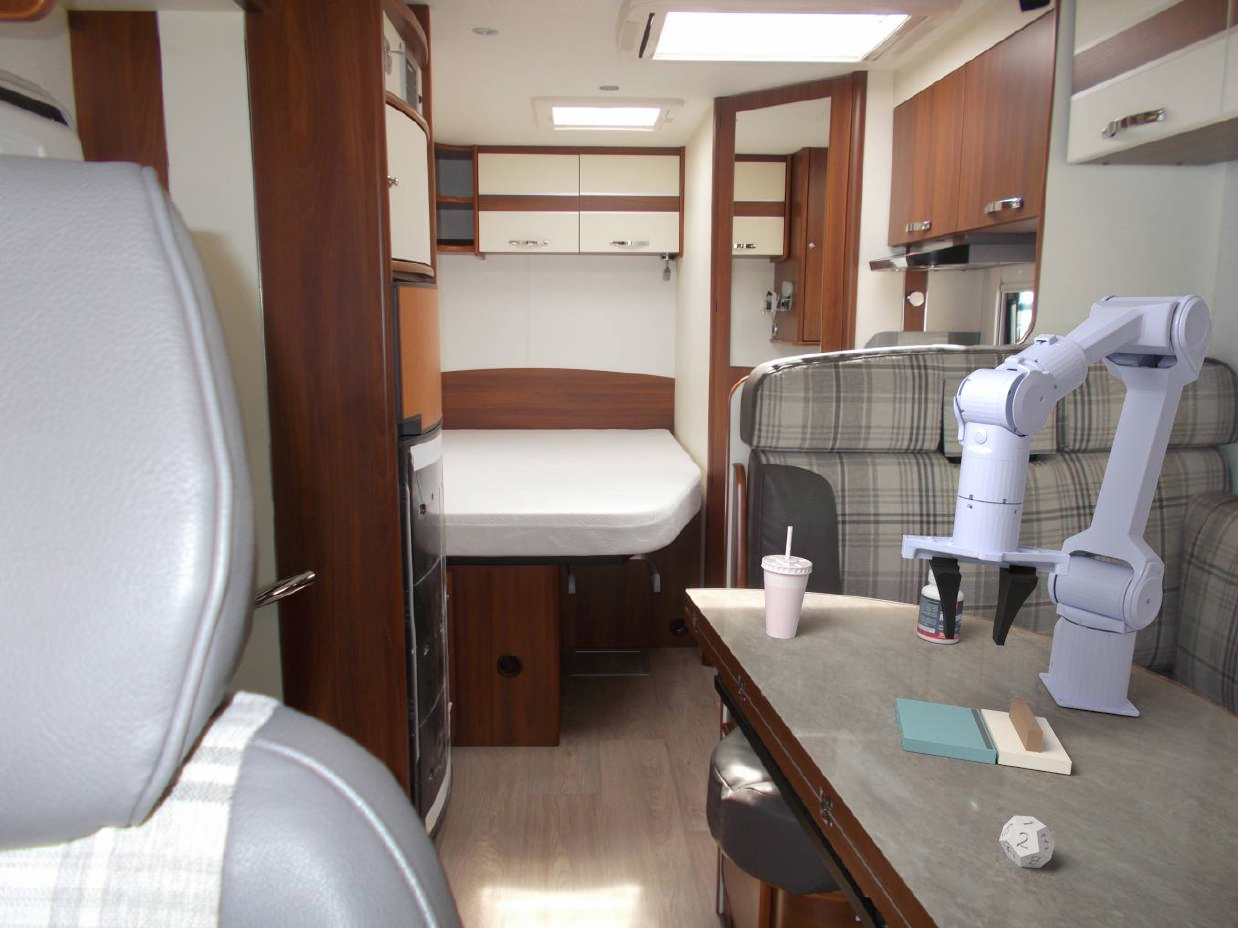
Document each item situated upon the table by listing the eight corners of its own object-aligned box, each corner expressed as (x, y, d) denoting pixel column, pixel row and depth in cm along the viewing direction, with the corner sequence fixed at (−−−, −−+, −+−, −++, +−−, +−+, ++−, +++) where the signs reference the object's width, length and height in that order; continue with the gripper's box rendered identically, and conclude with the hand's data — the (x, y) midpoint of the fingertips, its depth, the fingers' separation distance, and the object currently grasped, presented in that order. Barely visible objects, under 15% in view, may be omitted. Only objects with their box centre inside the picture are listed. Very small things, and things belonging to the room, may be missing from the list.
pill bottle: (938, 646, 113) (946, 578, 112) (907, 633, 118) (915, 568, 117) (967, 642, 116) (975, 576, 115) (936, 629, 120) (943, 566, 119)
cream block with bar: (980, 719, 90) (983, 689, 90) (1043, 729, 89) (1047, 698, 89) (998, 763, 81) (1002, 730, 80) (1070, 774, 79) (1074, 740, 79)
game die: (986, 850, 67) (991, 812, 66) (1027, 844, 68) (1031, 807, 67) (1021, 877, 63) (1026, 838, 63) (1062, 871, 64) (1068, 832, 64)
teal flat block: (895, 708, 92) (896, 696, 92) (976, 720, 91) (978, 708, 90) (903, 750, 83) (904, 736, 82) (994, 764, 81) (996, 750, 81)
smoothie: (806, 629, 117) (816, 525, 115) (805, 645, 111) (815, 535, 109) (757, 623, 118) (766, 520, 116) (753, 638, 112) (762, 529, 110)
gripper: (912, 497, 81) (897, 641, 83) (1086, 514, 78) (1066, 663, 79) (906, 486, 87) (891, 619, 89) (1065, 501, 84) (1047, 639, 86)
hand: (973, 639), depth 85 cm, fingers open, 4 cm apart
